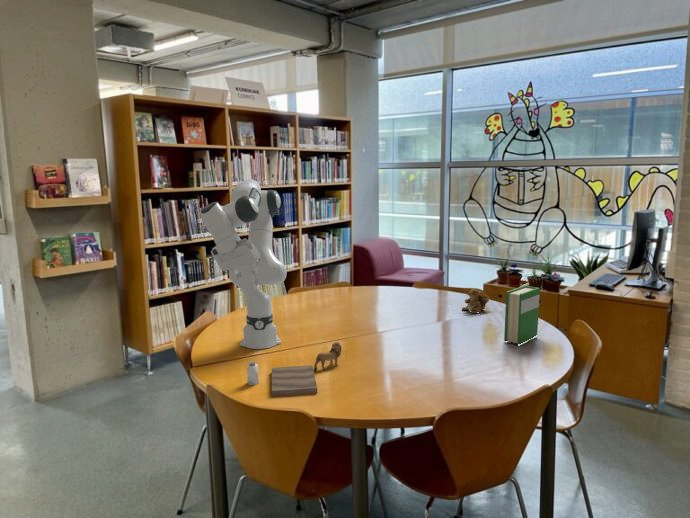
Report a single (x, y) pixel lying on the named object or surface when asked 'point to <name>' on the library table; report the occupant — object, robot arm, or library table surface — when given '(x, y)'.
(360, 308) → the library table surface
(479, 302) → the stuffed squirrel
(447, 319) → the library table surface
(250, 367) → the connector casing
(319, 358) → the lion figurine
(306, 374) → the display block
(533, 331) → the hardback book
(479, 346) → the library table surface
